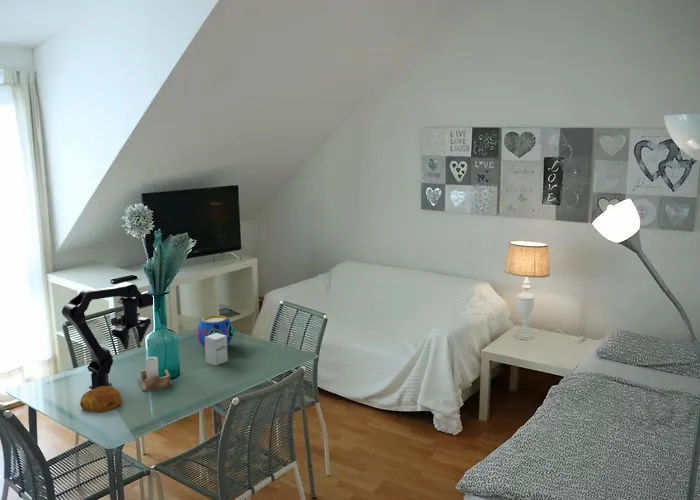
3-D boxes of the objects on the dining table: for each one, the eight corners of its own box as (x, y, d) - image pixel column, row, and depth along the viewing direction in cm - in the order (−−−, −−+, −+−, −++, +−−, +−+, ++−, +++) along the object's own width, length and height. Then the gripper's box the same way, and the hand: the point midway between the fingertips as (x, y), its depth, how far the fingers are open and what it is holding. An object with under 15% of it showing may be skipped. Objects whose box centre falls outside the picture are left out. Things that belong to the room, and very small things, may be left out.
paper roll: (159, 382, 267) (158, 359, 265) (147, 384, 265) (145, 361, 263) (158, 378, 271) (157, 355, 269) (146, 380, 270) (144, 357, 268)
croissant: (77, 410, 249) (72, 392, 246) (115, 393, 259) (110, 376, 256) (92, 422, 238) (87, 403, 236) (130, 404, 248) (126, 386, 246)
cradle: (142, 391, 260) (142, 381, 260) (138, 380, 272) (137, 370, 271) (172, 386, 266) (172, 376, 265) (166, 375, 277) (166, 365, 276)
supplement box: (216, 366, 288) (214, 339, 285) (205, 362, 292) (204, 336, 290) (228, 361, 293) (227, 335, 291) (217, 357, 298) (216, 332, 295)
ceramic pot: (209, 357, 299) (208, 326, 296) (190, 347, 311) (189, 318, 308) (241, 348, 310) (240, 319, 307) (221, 339, 323) (220, 310, 320)
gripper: (130, 303, 283) (132, 336, 287) (99, 315, 267) (103, 350, 270) (150, 305, 279) (153, 339, 283) (121, 318, 263) (124, 354, 266)
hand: (133, 345), depth 275 cm, fingers open, 9 cm apart
